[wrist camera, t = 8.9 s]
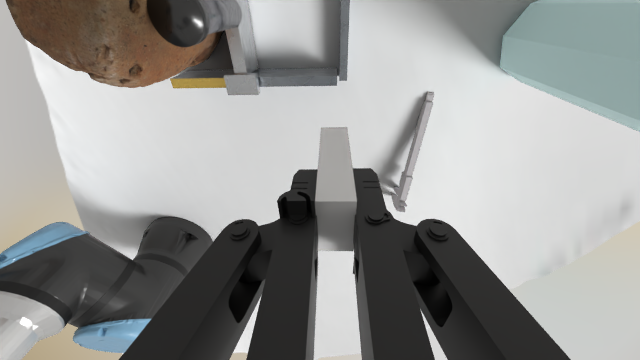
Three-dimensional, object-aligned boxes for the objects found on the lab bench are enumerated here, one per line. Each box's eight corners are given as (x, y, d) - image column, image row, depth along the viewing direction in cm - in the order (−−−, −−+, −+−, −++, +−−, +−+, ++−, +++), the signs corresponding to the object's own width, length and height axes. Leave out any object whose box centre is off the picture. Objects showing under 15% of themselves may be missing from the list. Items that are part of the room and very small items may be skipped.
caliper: (396, 195, 49) (403, 217, 44) (390, 195, 49) (397, 217, 44) (433, 92, 37) (449, 106, 32) (426, 91, 37) (441, 105, 32)
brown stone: (179, -54, 29) (-38, -136, 12) (240, -15, 30) (120, -41, 14) (166, 39, 34) (6, 68, 18) (217, 68, 36) (114, 117, 20)
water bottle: (479, 75, 35) (678, 172, 15) (519, -14, 29) (940, -53, 9) (547, 82, 35) (837, 190, 15) (601, -4, 29) (1197, -21, 9)
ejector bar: (242, 82, 37) (189, 128, 23) (208, -87, 27) (78, -180, 13) (268, 82, 37) (230, 127, 23) (244, -89, 26) (150, -185, 13)
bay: (191, 78, 37) (173, 88, 33) (143, -75, 28) (109, -89, 23) (346, 76, 36) (347, 85, 32) (351, -85, 26) (354, -102, 22)
